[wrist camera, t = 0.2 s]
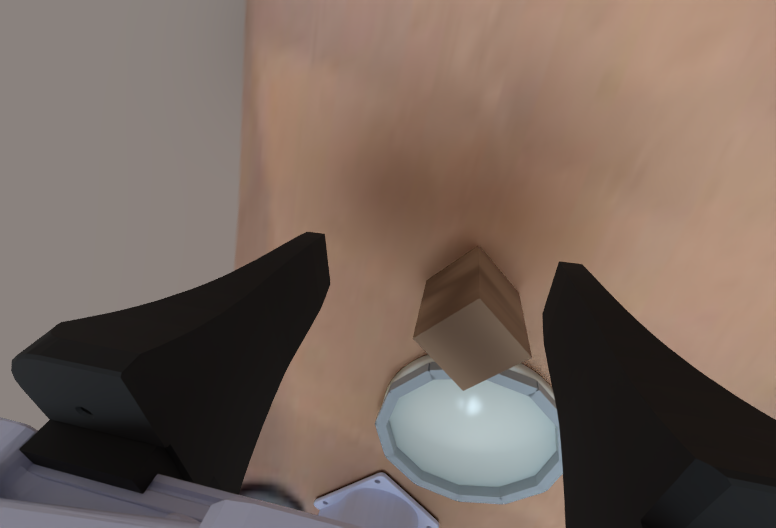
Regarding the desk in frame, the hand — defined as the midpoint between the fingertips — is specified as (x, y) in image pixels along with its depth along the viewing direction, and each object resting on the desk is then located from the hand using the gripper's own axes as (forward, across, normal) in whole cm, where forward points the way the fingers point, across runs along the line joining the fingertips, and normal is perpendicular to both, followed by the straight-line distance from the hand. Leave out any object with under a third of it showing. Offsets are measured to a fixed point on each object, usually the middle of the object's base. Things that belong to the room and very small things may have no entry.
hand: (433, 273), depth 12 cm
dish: (+8, -3, +19) cm, 21 cm away
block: (+9, -2, +8) cm, 12 cm away
